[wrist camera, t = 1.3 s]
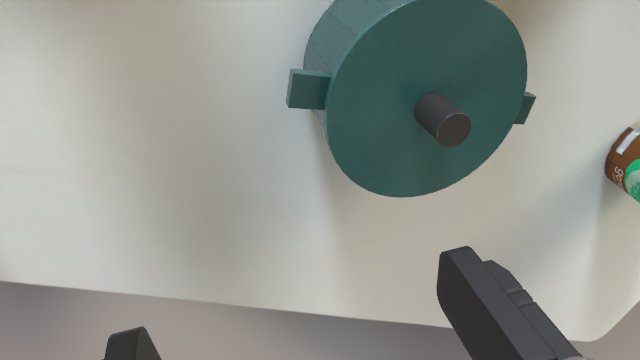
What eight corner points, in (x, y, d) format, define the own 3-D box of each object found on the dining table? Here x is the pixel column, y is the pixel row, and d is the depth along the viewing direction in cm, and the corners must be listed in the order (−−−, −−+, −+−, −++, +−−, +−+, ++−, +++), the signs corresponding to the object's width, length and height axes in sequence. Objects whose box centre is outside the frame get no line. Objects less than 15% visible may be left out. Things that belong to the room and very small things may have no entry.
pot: (283, -41, 31) (310, -24, 24) (502, -3, 37) (579, 21, 30) (263, 132, 38) (279, 186, 31) (450, 142, 44) (501, 190, 37)
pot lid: (345, -29, 25) (373, -16, 21) (551, 7, 29) (605, 23, 25) (305, 188, 32) (320, 226, 28) (473, 190, 37) (506, 224, 33)
